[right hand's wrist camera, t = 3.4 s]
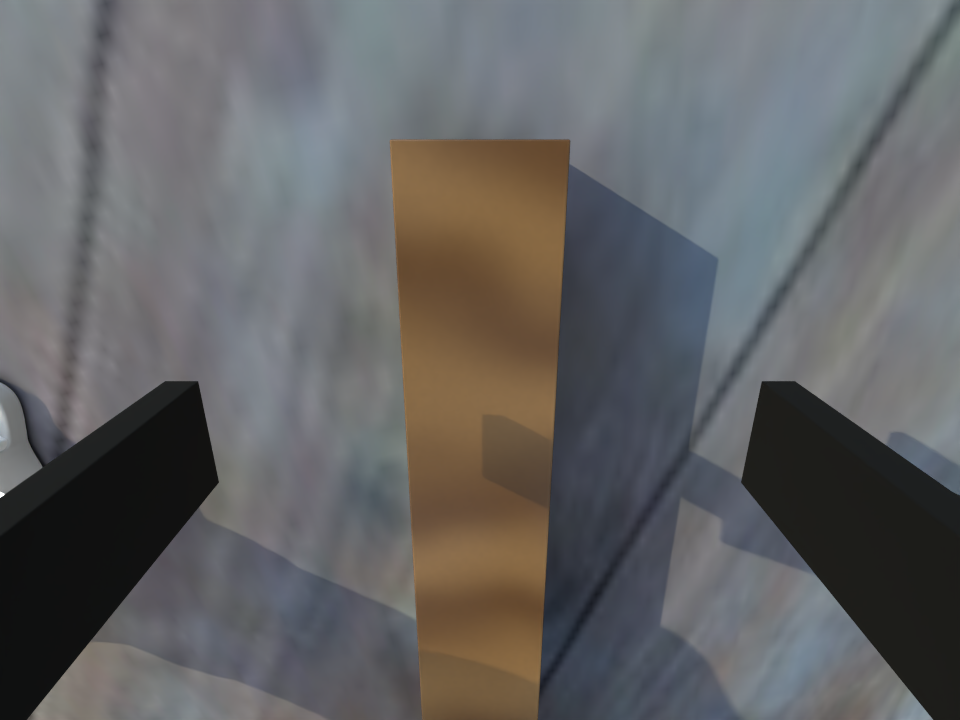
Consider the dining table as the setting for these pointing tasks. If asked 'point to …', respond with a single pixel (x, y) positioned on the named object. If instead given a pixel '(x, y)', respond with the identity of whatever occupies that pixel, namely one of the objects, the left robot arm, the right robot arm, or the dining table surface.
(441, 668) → the bar
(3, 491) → the left robot arm
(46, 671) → the right robot arm
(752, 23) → the dining table surface
